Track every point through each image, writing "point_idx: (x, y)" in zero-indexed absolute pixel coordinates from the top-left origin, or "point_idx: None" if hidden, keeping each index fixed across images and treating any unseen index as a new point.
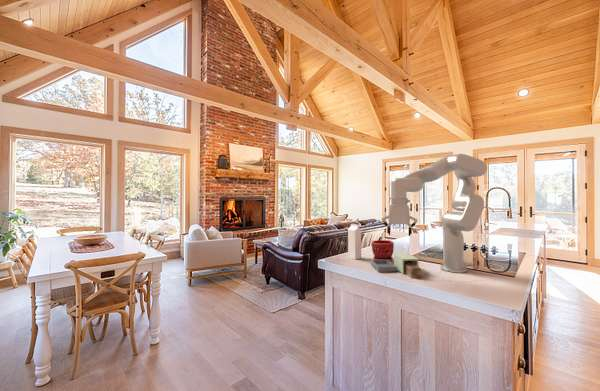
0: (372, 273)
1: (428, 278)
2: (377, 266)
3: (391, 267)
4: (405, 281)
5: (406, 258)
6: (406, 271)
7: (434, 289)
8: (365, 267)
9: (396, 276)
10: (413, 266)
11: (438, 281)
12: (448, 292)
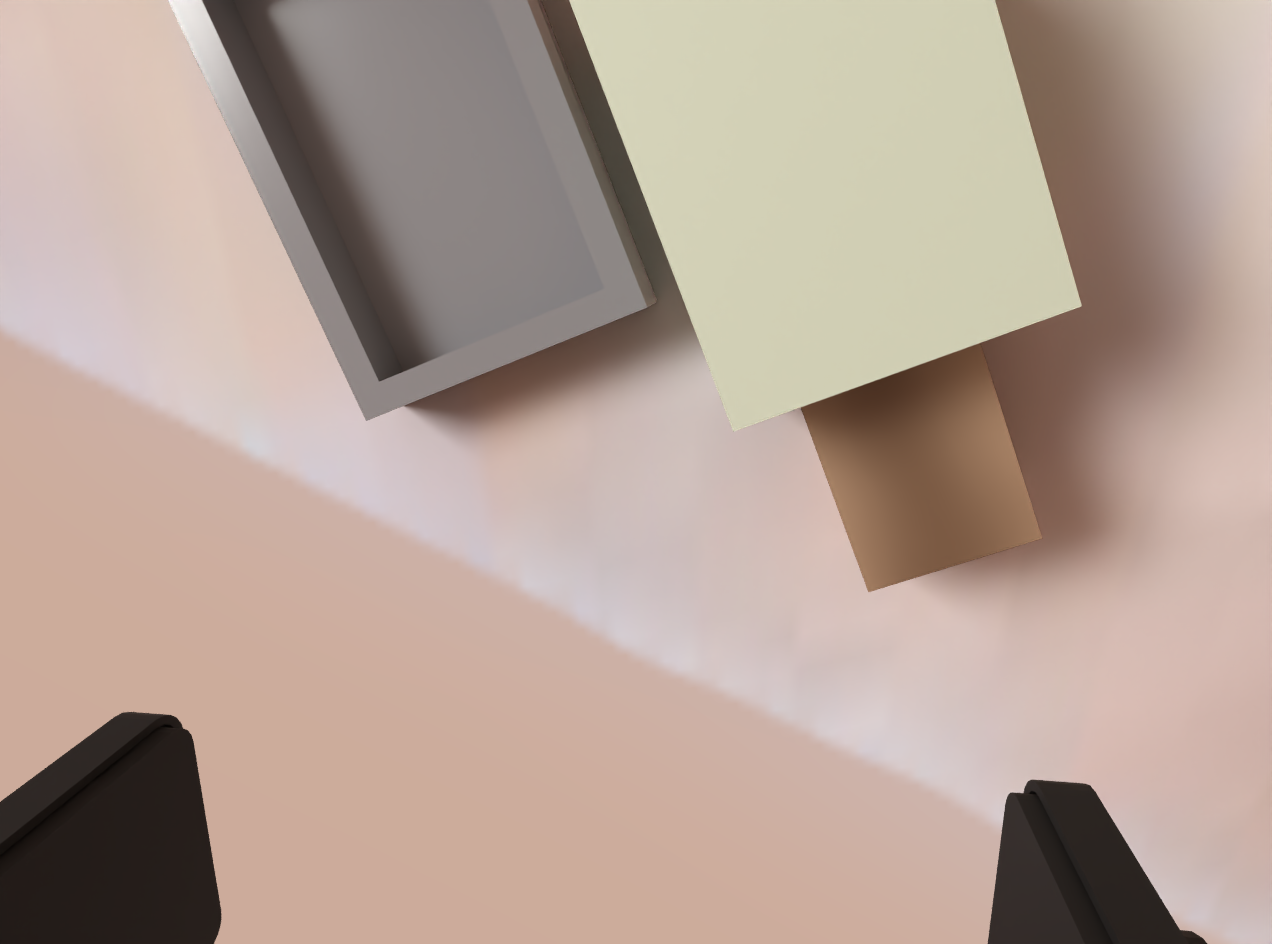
0: (336, 479)
1: (1101, 485)
2: (347, 378)
3: (562, 340)
4: (764, 686)
5: (819, 350)
6: None
7: None
8: (177, 206)
9: (653, 519)
10: (923, 456)
11: (1216, 580)
12: (1215, 921)
